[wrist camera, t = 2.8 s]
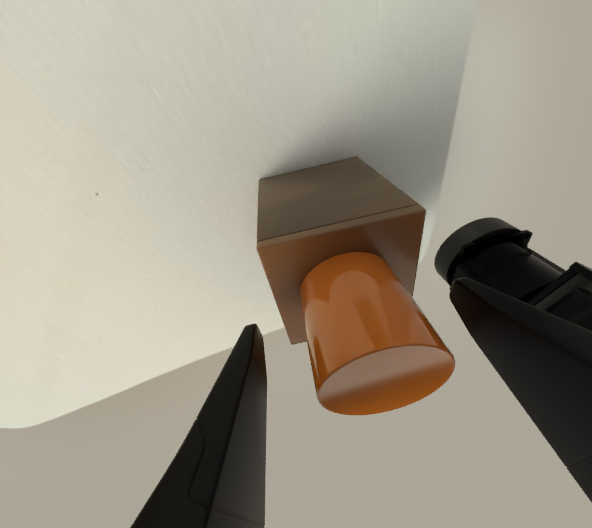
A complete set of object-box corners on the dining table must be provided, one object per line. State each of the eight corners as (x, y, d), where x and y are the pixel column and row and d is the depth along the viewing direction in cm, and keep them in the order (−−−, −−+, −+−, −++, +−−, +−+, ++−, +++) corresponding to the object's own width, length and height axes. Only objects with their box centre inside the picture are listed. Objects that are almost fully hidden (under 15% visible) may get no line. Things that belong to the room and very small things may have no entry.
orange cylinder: (396, 240, 9) (473, 329, 6) (390, 310, 11) (441, 400, 8) (290, 264, 9) (306, 365, 6) (307, 329, 11) (325, 424, 8)
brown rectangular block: (356, 156, 14) (427, 209, 8) (359, 240, 18) (409, 319, 12) (258, 179, 14) (256, 249, 8) (281, 258, 18) (291, 345, 12)
